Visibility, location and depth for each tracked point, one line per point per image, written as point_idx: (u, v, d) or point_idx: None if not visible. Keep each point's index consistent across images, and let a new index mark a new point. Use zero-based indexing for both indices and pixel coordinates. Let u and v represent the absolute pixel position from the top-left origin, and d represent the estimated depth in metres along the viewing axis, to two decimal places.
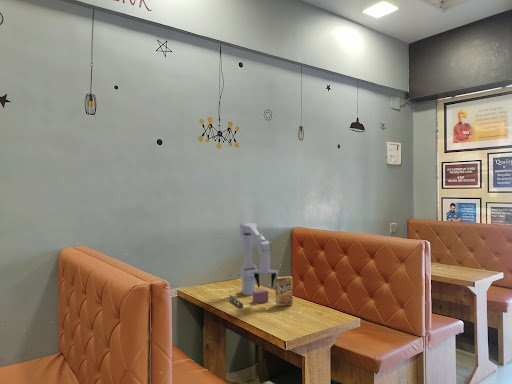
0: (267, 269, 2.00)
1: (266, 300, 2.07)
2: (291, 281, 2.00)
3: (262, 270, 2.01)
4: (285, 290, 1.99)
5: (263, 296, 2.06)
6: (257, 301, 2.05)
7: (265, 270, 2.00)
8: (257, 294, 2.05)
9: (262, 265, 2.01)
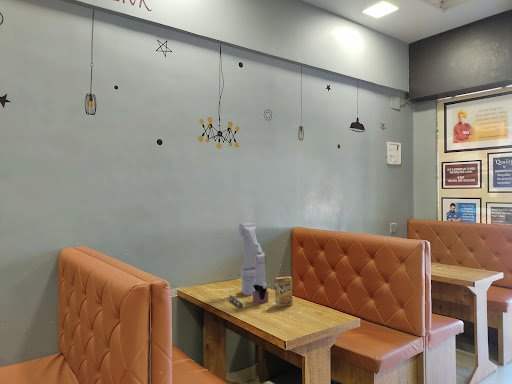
0: (257, 281, 2.05)
1: (266, 300, 2.07)
2: (290, 281, 2.00)
3: (255, 281, 2.08)
4: (285, 290, 1.98)
5: None
6: (257, 301, 2.05)
7: (256, 281, 2.06)
8: (257, 294, 2.05)
9: (255, 276, 2.08)
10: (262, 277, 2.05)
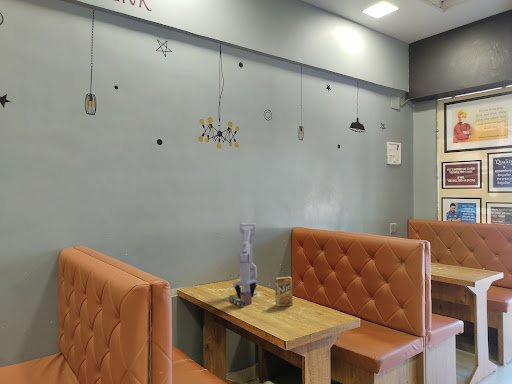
0: (249, 280, 2.05)
1: None
2: (290, 281, 2.00)
3: (244, 281, 2.03)
4: (285, 290, 1.98)
5: None
6: None
7: (247, 281, 2.04)
8: None
9: (244, 276, 2.04)
10: None
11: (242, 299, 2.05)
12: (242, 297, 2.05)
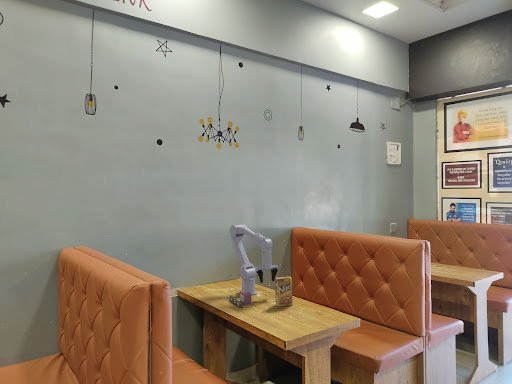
0: (271, 265, 2.14)
1: None
2: (290, 281, 2.00)
3: (267, 266, 2.13)
4: (285, 290, 1.98)
5: None
6: None
7: (269, 266, 2.13)
8: None
9: (267, 261, 2.13)
10: None
11: (242, 299, 2.05)
12: (242, 297, 2.05)
